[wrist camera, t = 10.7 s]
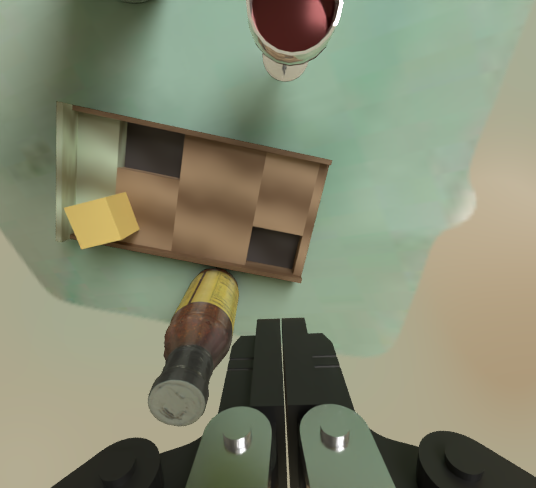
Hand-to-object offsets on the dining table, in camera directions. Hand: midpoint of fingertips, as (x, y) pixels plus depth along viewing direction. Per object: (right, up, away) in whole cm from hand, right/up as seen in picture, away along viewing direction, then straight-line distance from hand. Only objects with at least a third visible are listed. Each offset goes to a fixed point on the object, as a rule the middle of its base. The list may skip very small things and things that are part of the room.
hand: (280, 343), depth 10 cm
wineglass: (+1, +23, +23) cm, 33 cm away
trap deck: (-9, +9, +27) cm, 30 cm away
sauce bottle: (-7, -2, +30) cm, 31 cm away
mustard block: (-18, +7, +26) cm, 32 cm away
